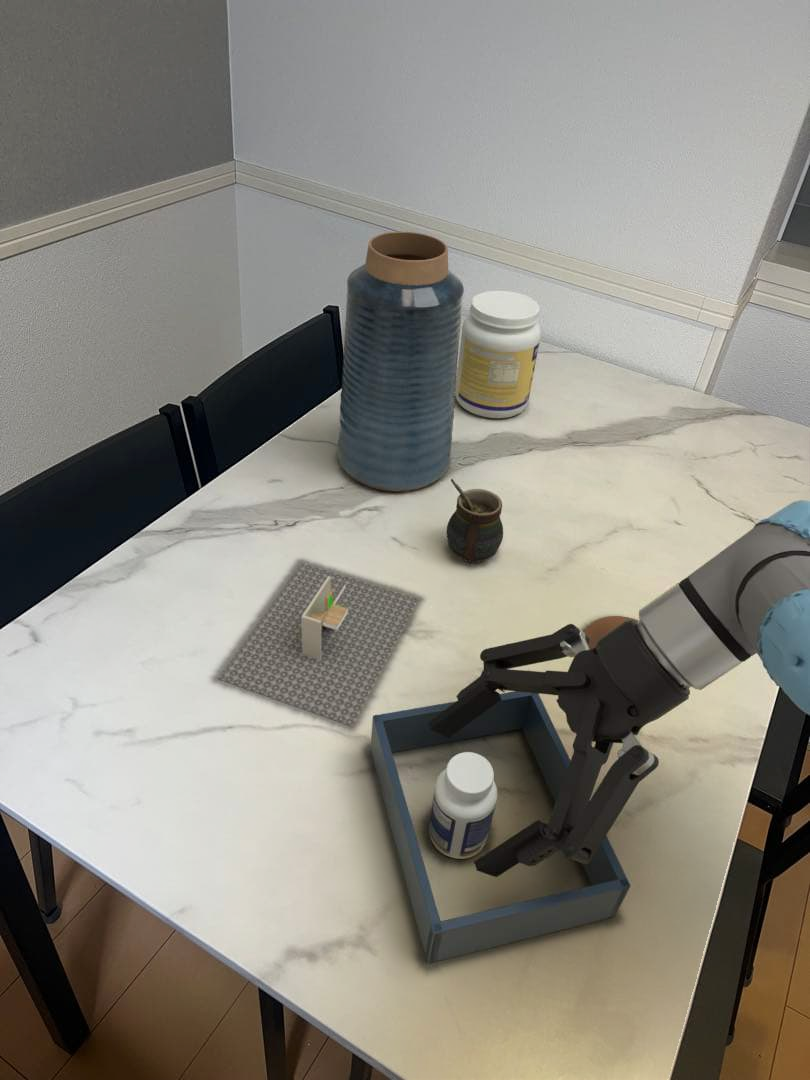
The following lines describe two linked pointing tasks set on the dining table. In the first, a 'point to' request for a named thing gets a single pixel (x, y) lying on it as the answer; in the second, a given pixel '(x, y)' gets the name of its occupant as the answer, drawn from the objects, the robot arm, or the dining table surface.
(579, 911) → the blue bottomless tray frame
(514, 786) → the dining table surface
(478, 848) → the pill bottle
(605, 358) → the dining table surface
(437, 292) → the vase
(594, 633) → the coaster
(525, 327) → the supplement tub
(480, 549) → the mate gourd
